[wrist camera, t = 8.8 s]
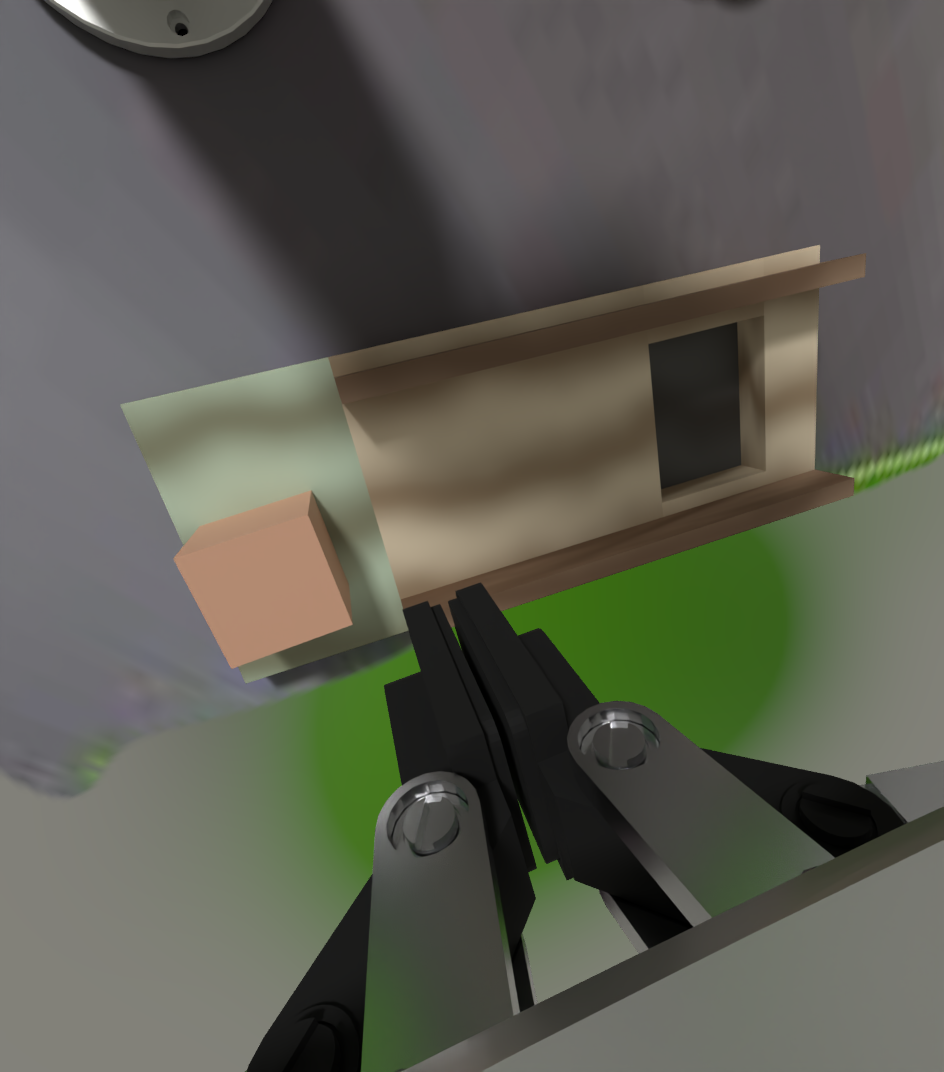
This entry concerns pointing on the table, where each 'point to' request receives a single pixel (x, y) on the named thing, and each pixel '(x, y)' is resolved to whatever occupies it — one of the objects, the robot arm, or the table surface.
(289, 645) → the block
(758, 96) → the table surface
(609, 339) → the track
